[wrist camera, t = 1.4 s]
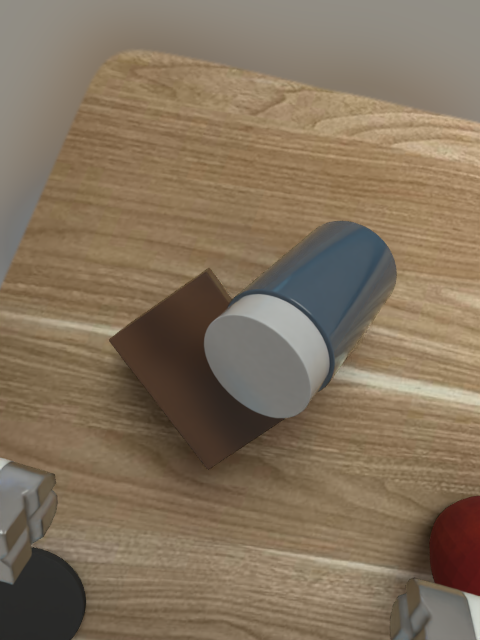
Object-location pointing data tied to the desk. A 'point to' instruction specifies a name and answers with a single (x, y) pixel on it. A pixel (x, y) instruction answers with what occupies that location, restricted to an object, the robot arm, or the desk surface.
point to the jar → (301, 319)
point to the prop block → (189, 370)
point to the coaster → (42, 601)
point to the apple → (457, 546)
